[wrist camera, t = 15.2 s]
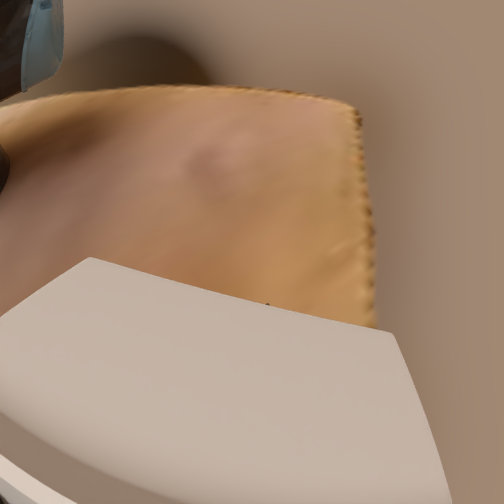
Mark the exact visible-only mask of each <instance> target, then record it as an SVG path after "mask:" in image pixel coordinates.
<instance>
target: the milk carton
mask: <svg viewBox="0 0 504 504" xmlns="http://www.w3.org/2000/svg"><path fill="white" fill-rule="evenodd" d="M0 498H1V499H2V501H3V502H4V504H453V503H452V500H451V496H450V492H449V488H448V485H447V481H446V477H445V474H444V471H443V467H442V464H441V461H440V457H439V454H438V451H437V448H436V445H435V442H434V439H433V436H432V433H431V430H430V427H429V424H428V422H427V419H426V416H425V413H424V410H423V407H422V405H421V402H420V399H419V397H418V394H417V391H416V389H415V386H414V383H413V381H412V378H411V376H410V373H409V371H408V368H407V366H406V364H405V361H404V359H403V357H402V354H401V351H400V349H399V347H398V345H397V342H396V340H395V338H394V335H393V334H391V333H389V332H385V331H381V330H376V329H372V328H367V327H363V326H358V325H353V324H348V323H344V322H339V321H334V320H330V319H325V318H321V317H316V316H312V315H307V314H303V313H299V312H294V311H290V310H286V309H281V308H277V307H273V306H269V305H265V304H261V303H257V302H253V301H249V300H245V299H241V298H237V297H233V296H229V295H225V294H221V293H217V292H213V291H210V290H206V289H202V288H198V287H195V286H191V285H187V284H184V283H180V282H176V281H173V280H169V279H166V278H162V277H159V276H155V275H152V274H148V273H145V272H141V271H138V270H135V269H131V268H128V267H124V266H121V265H118V264H114V263H111V262H107V261H104V260H100V259H97V258H92V257H88V258H87V259H85V260H83V261H82V262H80V263H79V264H77V265H75V266H74V267H72V268H71V269H69V270H68V271H66V272H65V273H63V274H61V275H60V276H58V277H57V278H55V279H54V280H52V281H51V282H49V283H48V284H46V285H45V286H43V287H42V288H41V289H39V290H38V291H36V292H35V293H33V294H32V295H30V296H29V297H27V298H26V299H25V300H23V301H22V302H20V303H19V304H18V305H16V306H15V307H13V308H12V309H11V310H9V311H8V312H6V313H5V314H4V315H2V316H1V317H0Z"/></svg>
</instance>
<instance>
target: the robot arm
mask: <svg viewBox="0 0 504 504" xmlns="http://www.w3.org/2000/svg"><path fill="white" fill-rule="evenodd" d="M63 15H64V14H63V0H0V102H2V101H4V100H6V99H8V98H10V97H12V96H14V95H16V94H18V93H20V92H23V93H24V92H26V91H28V89H29V88H31V87H33V86H35V85H37V84H39V83H41V82H43V81H45V80H48V79H49V78H51V77H52V76H54V75H55V74H56V72H57V71H58V69H59V67H60V65H61V62H62V58H63V48H64V16H63ZM8 171H9V159H8V156H7V155H6V153H5V151H4V150H3V148H2V146H1V145H0V192H1V190H2V188H3V186H4V184H5V181H6V179H7V175H8ZM0 504H4V502H3V501H2V499H1V498H0Z"/></svg>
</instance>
